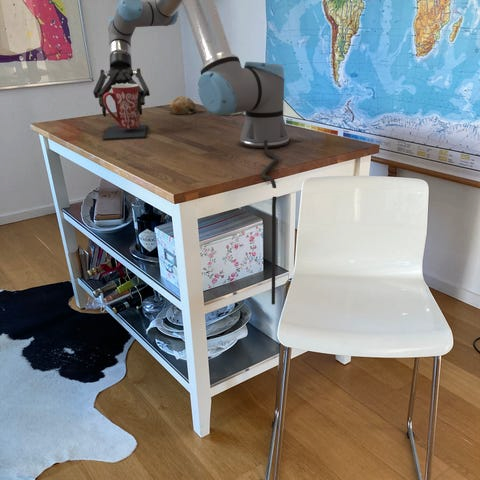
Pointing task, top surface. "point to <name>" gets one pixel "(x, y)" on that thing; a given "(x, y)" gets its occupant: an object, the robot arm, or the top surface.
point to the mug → (125, 105)
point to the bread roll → (182, 106)
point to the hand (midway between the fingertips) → (122, 113)
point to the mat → (124, 133)
